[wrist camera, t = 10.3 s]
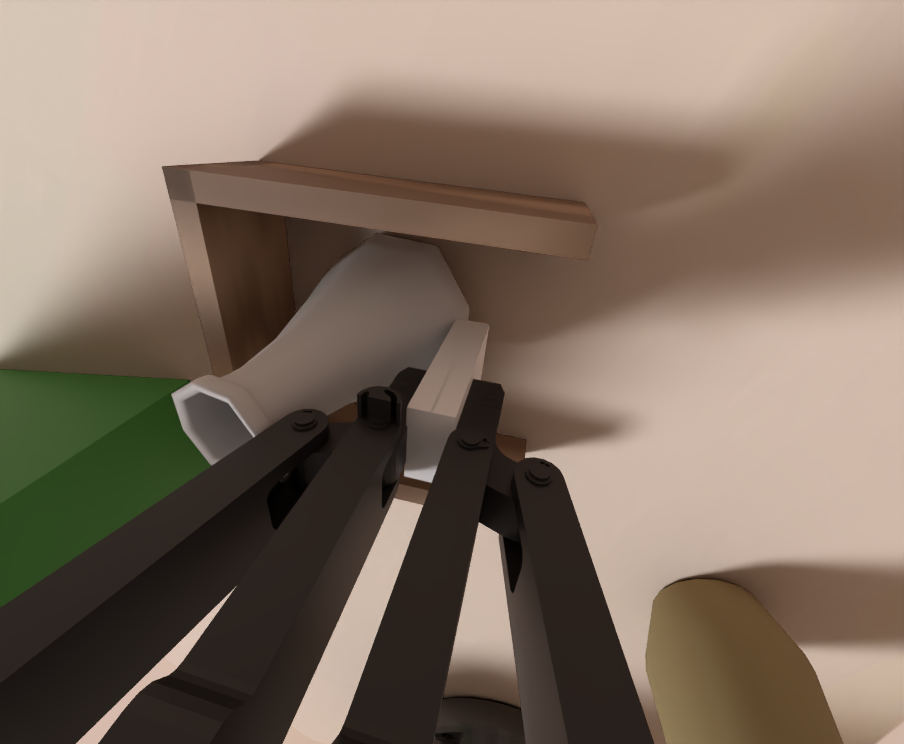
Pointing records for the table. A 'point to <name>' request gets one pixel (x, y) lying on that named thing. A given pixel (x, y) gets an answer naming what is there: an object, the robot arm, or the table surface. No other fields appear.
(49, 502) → the hardback book
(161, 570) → the robot arm
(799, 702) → the squeeze bottle
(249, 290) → the box
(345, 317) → the flask
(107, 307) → the table surface
